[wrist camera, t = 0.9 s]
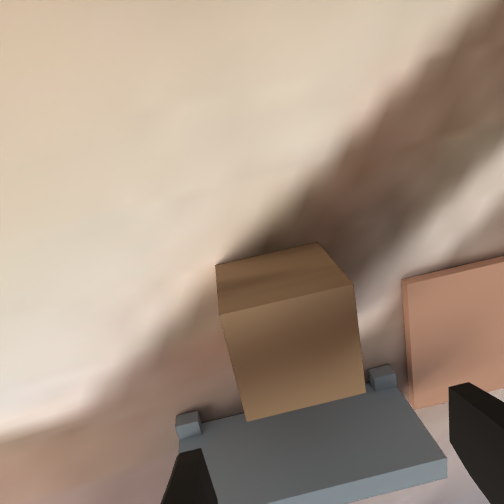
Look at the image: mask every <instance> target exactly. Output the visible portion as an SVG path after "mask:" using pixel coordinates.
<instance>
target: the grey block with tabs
mask: <svg viewBox="0 0 504 504" xmlns="http://www.w3.org/2000/svg"><path fill="white" fill-rule="evenodd" d="M369 378H370V383H366V384H365V388H366V393H363V394H359V395H355V396H351V397H347V398H343V399H338V400H334V401H330V402H326V403H322V404H318V405H314V406H310V407H306V408H302V409H297V410H293V411H289V412H285V413H281V414H277V415H273V416H269V417H265V418H261V419H257V420H252V421H248V422H247V421H246V417H245V414H244V413H242V414H238V415H234V416H230V417H226V418H222V419H218V420H213V421H209V422H205V423H202V422H201V419H200V416H199V413H198V411H194V412H190V413H186V414H182V415H178V416H176V423H175V428H176V431H177V434H178V437H179V440H180V441H179V453H182V452H186V451H190V450H194V449H198V448H201V449H202V452H203V455H204V458H205V462H206V465H207V468H208V471H209V474H210V477H211V480H212V483H213V487H214V490H215V493H216V496H217V499H218V504H347V503H351V502H354V501H358V500H362V499H366V498H370V497H374V496H378V495H382V494H386V493H390V492H394V491H397V490H401V489H405V488H409V487H413V486H417V485H421V484H425V483H429V482H433V481H437V480H441V479H444V478H447V457H446V456H445V454H444V453H443V452H442V450H441V449H440V447H439V446H438V444H437V443H436V442H435V440H434V439H433V437H432V436H431V434H430V433H429V432H428V430H427V429H426V427H425V426H424V424H423V423H422V422H421V420H420V419H419V417H418V416H417V414H416V413H415V412H414V410H413V409H412V407H411V406H410V404H409V403H408V402H407V400H406V399H405V397H404V396H403V395H402V393H401V392H400V390H399V389H398V387H397V380H396V373H395V371H394V370H393V369H392V367H391V366H390V364H389V365H385V366H380V367H376V368H372V369H369Z"/></svg>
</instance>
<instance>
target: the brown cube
mask: <svg viewBox="0 0 504 504" xmlns="http://www.w3.org/2000/svg"><path fill="white" fill-rule="evenodd" d="M215 268H216V281H217V293H218V306H219V316H220V320H221V324H222V328H223V332H224V336H225V340H226V344H227V347H228V351H229V355H230V359H231V363H232V367H233V371H234V375H235V379H236V382H237V386H238V390H239V394H240V398H241V402H242V406H243V410H244V414H245V417H246V421H247V422H248V421H252V420H257V419H261V418H265V417H269V416H273V415H277V414H281V413H285V412H289V411H293V410H297V409H302V408H306V407H310V406H314V405H318V404H322V403H326V402H330V401H334V400H338V399H343V398H347V397H351V396H355V395H359V394H363V393H366V388H365V379H364V371H363V362H362V353H361V345H360V336H359V328H358V319H357V310H356V302H355V293H354V284H353V283H352V282H351V281H350V279H349V278H348V277H347V276H346V275H345V274H344V272H343V271H342V270H341V269H340V268H339V267H338V266H337V264H336V263H335V262H334V261H333V260H332V259H331V257H330V256H329V255H328V254H327V253H326V252H325V251H324V249H323V248H322V247H321V246H320V245H319V244H318V242H315V243H311V244H307V245H302V246H298V247H293V248H289V249H284V250H280V251H276V252H271V253H267V254H262V255H258V256H254V257H249V258H245V259H240V260H236V261H232V262H227V263H223V264H218V265H215Z"/></svg>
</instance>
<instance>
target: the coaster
mask: <svg viewBox="0 0 504 504" xmlns="http://www.w3.org/2000/svg"><path fill="white" fill-rule="evenodd" d="M401 282H402V297H403V312H404V327H405V342H406V356H407V371H408V386H409V401H410V404H411V405H412V407H413V408H414V410H416V409H420V408H424V407H428V406H432V405H436V404H441V403H445V402H449V390H448V387H450V386H454V385H458V384H462V383H467V382H470V383H472V384H473V385H475V386H477V387H479V388H480V389H482V390H484V391H485V392H489V391H493V390H497V389H501V388H504V256H501V257H496V258H492V259H488V260H484V261H479V262H475V263H471V264H466V265H462V266H458V267H454V268H449V269H445V270H441V271H436V272H432V273H428V274H423V275H419V276H415V277H411V278H406V279H402V280H401Z"/></svg>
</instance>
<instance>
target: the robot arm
mask: <svg viewBox="0 0 504 504" xmlns="http://www.w3.org/2000/svg"><path fill="white" fill-rule="evenodd" d="M448 390H449V435H450V442H451V444H452V446H453V448H454V449H455V451H456V453H457V454H458V456H459V458H460V460H461V461H462V463H463V465H464V466H465V468H466V469H467V471H468V473H469V474H470V476H471V477H472V479H473V480H474V482H475V483H476V484H477V486H478V487H479V488H480V490H481V491H482V492H483V494H484V495H485V496H486V498H487V499H488V500H489V502H490V503H491V504H504V402H502V401H501V400H499V399H497V398H496V397H494V396H492V395H490V394H489V393H487V392H485V391H484V390H482V389H480V388H479V387H477V386H475V385H473V384H472V383H470V382H467V383H462V384H458V385H454V386H450V387H448ZM161 504H218V499H217V496H216V493H215V490H214V487H213V483H212V480H211V477H210V474H209V471H208V468H207V465H206V462H205V458H204V455H203V452H202V449H201V448H198V449H194V450H190V451H186V452H182V453H179V455H178V456H177V458H176V461H175V464H174V467H173V470H172V474H171V477H170V479H169V482H168V485H167V488H166V491H165V493H164V496H163V499H162V501H161Z"/></svg>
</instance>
